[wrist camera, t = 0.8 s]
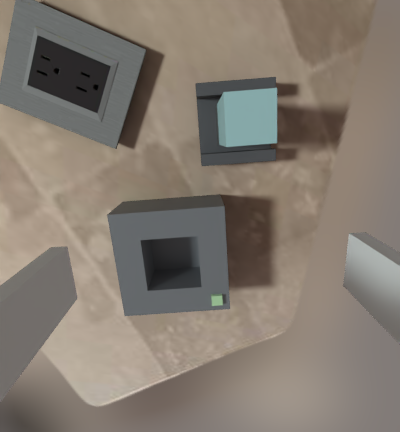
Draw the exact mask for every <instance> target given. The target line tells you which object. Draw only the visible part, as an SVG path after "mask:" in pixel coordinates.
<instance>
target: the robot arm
mask: <svg viewBox="0 0 400 432" xmlns="http://www.w3.org/2000/svg"><path fill="white" fill-rule="evenodd" d="M343 286H344V287H345V288H346V289H347V290H348V291H349V292H350V293H351V294H352V296H353V297H354V298H355V299H357V301H358V302H359V303H360V304H361V305H362V306H363V307H364V308H365V309H366V310H367V311H368V312H369V313H370V314H371V315H372V316H373V317H374V318H375V319H376V320H377V321H378V323H379V324H380V325H381V326H382V327H383V328H384V329H385V330H386V331H387V332H388V333H389V334H390V335H391V336H392V337H393V338H394V339H395V340H396V341H397V342H398V343H399V344H400V252H399V251H396V250H395V249H393V248H392V247H390V246H388V245H386V244H385V243H383V242H381V241H379V240H378V239H376V238H374V237H373V236H371V235H369V234H367V233H366V232H365V233H349V239H348V248H347V257H346V266H345V275H344V284H343ZM76 299H77V293H76V288H75V283H74V278H73V273H72V268H71V263H70V258H69V253H68V248H67V247H51V248H49V249H48V250H47V251H45V252H44V253H43V254H41V255H40V256H39V257H38V258H36V259H35V260H34V261H32V262H31V263H30V264H28V265H27V266H26V267H24V268H23V269H22V270H20V271H19V272H18V273H16V274H15V275H14V276H13V277H11V278H10V279H9V280H7V281H6V282H5V283H3V284H2V285H1V286H0V402H1V401H2V399H3V398H4V397H5V395H6V394H7V393H8V391H9V390H10V388H11V387H12V386H13V385H14V383H15V382H16V380H17V379H18V378H19V376H20V375H21V374H22V372H23V371H24V370H25V368H26V367H27V366H28V364H29V363H30V362H31V360H32V359H33V358H34V356H35V355H36V353H37V352H38V351H39V349H40V348H41V347H42V345H43V344H44V343H45V341H46V340H47V339H48V337H49V336H50V335H51V333H52V332H53V331H54V329H55V328H56V326H57V325H58V324H59V322H60V321H61V320H62V318H63V317H64V316H65V314H66V313H67V312H68V310H69V309H70V308H71V306H72V305H73V304H74V302H75V301H76Z"/></svg>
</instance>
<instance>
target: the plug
mask: <svg viewBox="0 0 400 432" xmlns="http://www.w3.org/2000/svg"><path fill="white" fill-rule="evenodd" d="M215 112H216V129H217V145H222V146H225V147H233V146H246V145H259V144H272V143H277V88H269V89H256V90H244V91H231V92H223V94H222V96H221V98H220V100H219V101H218V103H217V104H216V106H215Z"/></svg>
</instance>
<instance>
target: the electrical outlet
mask: <svg viewBox="0 0 400 432" xmlns="http://www.w3.org/2000/svg"><path fill="white" fill-rule="evenodd" d="M146 51H147V50H146V49H143V48H141V47H139V46H137V45H134V44H132V43H130V42H128V41H125V40H123V39H121V38H119V37H116V36H114V35H112V34H109V33H107V32H105V31H103V30H100V29H98V28H96V27H94V26H91V25H89V24H87V23H85V22H82V21H80V20H78V19H75V18H73V17H71V16H69V15H66V14H64V13H62V12H60V11H57V10H55V9H53V8H51V7H48V6H46V5H44V4H41V3H39V2H37V1H35V0H16V1H15V6H14V12H13V17H12V23H11V28H10V33H9V39H8V44H7V50H6V55H5V60H4V66H3V71H2V77H1V82H0V103H1V104H4V105H6V106H9V107H11V108H14V109H16V110H19V111H21V112H24V113H26V114H29V115H31V116H34V117H37V118H39V119H42V120H44V121H47V122H49V123H52V124H54V125H57V126H59V127H62V128H64V129H67V130H69V131H72V132H74V133H77V134H80V135H82V136H85V137H87V138H90V139H92V140H95V141H97V142H100V143H102V144H105V145H107V146H110V147H112V148H115V149H117V145H118V142H119V139H120V136H121V132H122V129H123V126H124V123H125V119H126V116H127V113H128V110H129V106H130V103H131V100H132V97H133V93H134V90H135V87H136V84H137V80H138V77H139V74H140V70H141V67H142V64H143V61H144V57H145V54H146Z"/></svg>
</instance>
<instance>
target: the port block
mask: <svg viewBox="0 0 400 432" xmlns="http://www.w3.org/2000/svg"><path fill="white" fill-rule="evenodd" d="M107 216H108V222H109V228H110V233H111V239H112V245H113V251H114V256H115V262H116V268H117V274H118V280H119V285H120V291H121V297H122V303H123V308H124V314H125V316H132V315H147V314H161V313H176V312H191V311H206V310H220V309H230V300H229V281H228V262H227V243H226V224H225V206H224V203H223V201H222V198H221V195H207V196H194V197H181V198H167V199H154V200H140V201H127V202H122V203H121V204H120V205H118V206H117V207H116V208H115V209H114V210H113V211H111V212H110V213H109V214H108V215H107Z"/></svg>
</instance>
